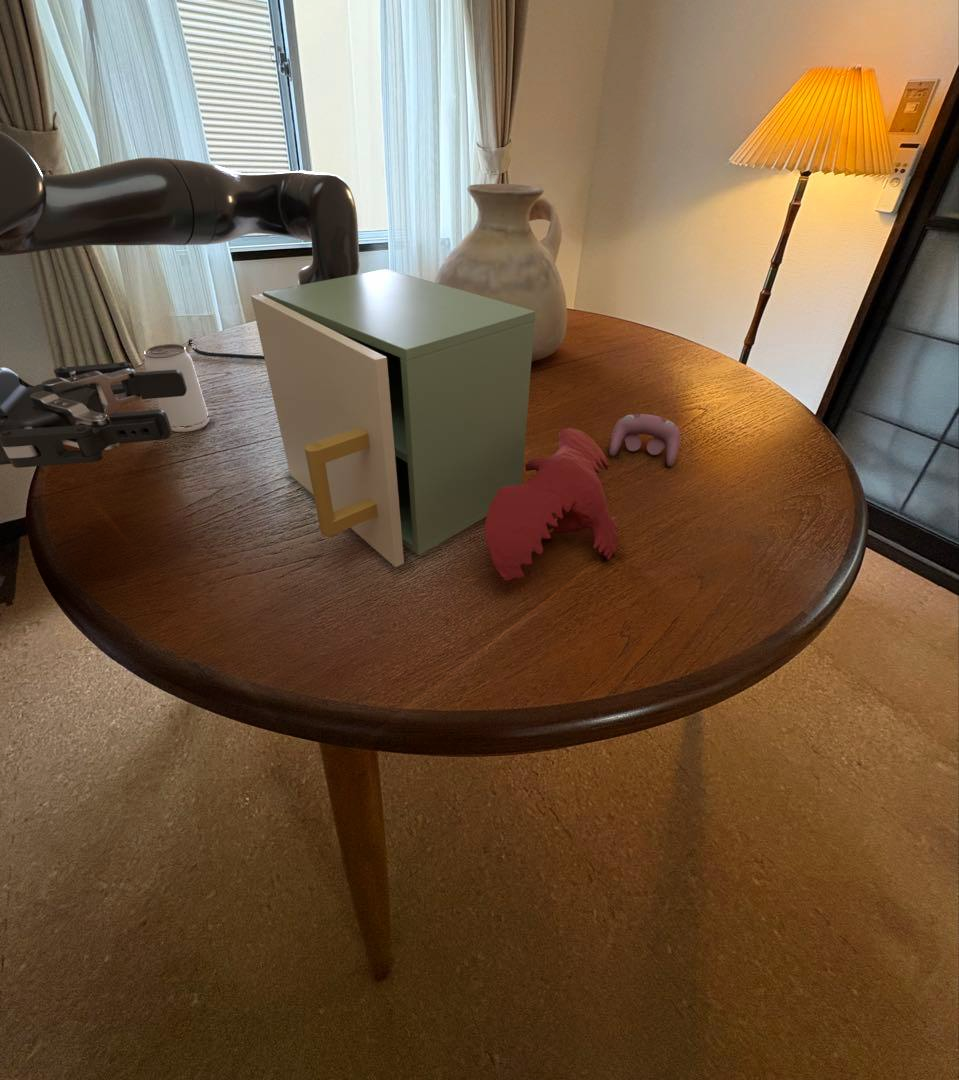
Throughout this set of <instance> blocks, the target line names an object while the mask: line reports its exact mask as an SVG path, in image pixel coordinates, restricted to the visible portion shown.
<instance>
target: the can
mask: <svg viewBox="0 0 959 1080" xmlns="http://www.w3.org/2000/svg"><path fill="white" fill-rule="evenodd" d="M143 356H144V363H143V364H144V368H145V372H149V371H163V370H179V371H180V372H181V373H182V374H183V377H184V380H185V384H186V387H187V391H186V394H185V395H184V396H178V397H166V398H155V400H156V403H157V405H158V408H159V410H163V411H164V412H165V413H166V415H167V417H168V420H169V423H170V425H174V426H186V425H187V426H188V425H193V424H196V423H199V422H201V421H203V420H204V419H206V418H207V416H208V415H209V411H208V409H207V404H206V402H205V399H204V395H203V392H202V389H201V385H200V381H199V378H198V375H197V372H196V368H195V365H194V362H193V359H192V356H191V355H190V354H189V353H188V352H187V350H186V347H185V346H184V345H182V344H178V343H165V344H158V345H154V346H151V347H149V348H146V349H145V350H143ZM209 422H210V416H209V417H208V419H207V420H206V421H205V422H203V423H202V424H199V425H196V426H193V427H188V428H172V427H171V429H172V432H173V433H185V434H186V433H192V432H196V431H199V430H202V429H203V428H205V427H206V426H207V425H208V424H209Z"/></svg>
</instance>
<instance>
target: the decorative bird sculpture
mask: <svg viewBox="0 0 959 1080" xmlns="http://www.w3.org/2000/svg"><path fill="white" fill-rule="evenodd" d="M558 444H559V445H558V450H557V452H556V453H554V454H552V455H551V456H546V457H545V456H543V457H535V458H532V459H530V460H528V461H527V462H526V464H525V471H526V472H530V471H536V473H535V474H534V475H533V476H532V477H531V478H530V479H529V480H527V481H526V482H523V483H522V484H521V485H517V486H504V487H502V488H500V489H499V491H498V493H497V495H496V496H495V498H494V499H493V501H492V503H491V505H490V507H489V510H488V515H487V516H486V519H485V523H484V528H483V531H484V539H485V542H486V545H487V549H488V551H489V556H490V560H491V562H492V563H493V565H494V567H495V569H496V571H497V573H498V574H499V575H500V577H501V578H502V579H503V581H510V580H513V579H515V578H516V579H521V578H522V579H523V578H524V577H525V574H524V572H523V570H522V569H521V567H522V565H523V566H529V565H533V559H532V557H533V556H532V555H533V554H532V553H536V554H537V555H542V554H543V552H544V547H543V544H542V539H543V540H549V539H552V536H551V534H550V533H552V532H554V533H556V534H561V533H574V532H581V531H583V530H586V529H589V530H590V532H591V534H592V536H593V546H592V548H593V549H594V550H595V549H597V551H598V554H599V555H600V554H601V553H602V554H603V556H604V557H605V559H606V560H610V559H611V558H612V557H616V555H617V553H618V551H617V548H618V547H619V544H618V540H619V538H620V537H621V536H620V534H619V533H618V529H619V526H620V525H619V524H618V523H616V520H617V517H616V516H615V515H614V516H612V517H611V515H610V511H609V508H608V503H607V499H606V495H605V493H604V489H603V484H602V482H601V480H600V478H598V474H600V469H601V470H606V471H609V468H611V467H612V466H611V464H610V463H609V461H608V459H607V457H606V455H605V454H604V452H603V450H602V449H601V447H600V446H599V444H597V442H596V441H595V440H594V439H593V438H592V437H590V436H589V435H588V434H586V432H584V431H582V430H580V429H576V428H572V427H567V428H563V429H561V430H560V431H559V433H558ZM548 526H549V527H552V528H550V529H548Z"/></svg>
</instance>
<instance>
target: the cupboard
mask: <svg viewBox="0 0 959 1080" xmlns="http://www.w3.org/2000/svg"><path fill="white" fill-rule="evenodd" d="M261 293H262V295H263V296H265V297H267V298H269V299H271V300H273V301H275V302H277V303H279V304H281V305H283V306H285V307H287V308H289V309H291V310H293V311H295V312H297V313H299V314H301V315H303V316H305V317H307V318H309V319H311V320H313V321H315V322H317V323H319V324H321V325H323V326H325V327H327V328H329V329H331V330H333V331H335V332H337V333H339V334H341V335H343V336H345V337H347V338H349V339H351V340H353V341H355V342H357V343H359V344H361V345H363V346H365V347H367V348H369V349H371V350H373V351H375V352H377V353H379V354H381V355H383V356H385V357H387V366H388V378H389V390H390V402H391V414H392V426H393V437H394V449H395V461H396V473H397V485H398V497H399V509H400V521H401V533H402V544H403V546H405V547H406V548H408V549H409V550H410V551H412V552H413V553H415V554H416V555H418V556H421V555H423V554H424V553H426V552H427V551H429V550H430V549H433V548H434V547H436V546H438V545H439V544H441V543H443V542H445V541H447V540H448V539H450V538H451V537H454V536H455V535H457V534H458V533H461V532H462V531H463V530H466V529H467V528H470V526H472V525H474V524H476V523H478V522H479V521H481V520H483V519H485V518H487V515H488V510H489V507H490V505H491V503H492V501H493V499H494V498H495V496H496V495H497V493H498V491H499V489H500V488H502V487H504V486H517V485H521V484H523V477H524V475H523V474H524V464H525V449H526V439H527V438H526V436H527V425H528V424H527V423H528V409H529V401H530V399H529V397H530V385H531V373H532V362H531V360H532V347H533V334H534V321H535V311H533V310H529V309H526V308H522V307H518V306H515V305H511V304H508V303H504V302H501V301H497V300H494V299H490V298H487V297H483V296H480V295H476V294H473V293H469V292H466V291H462V290H459V289H455V288H452V287H448V286H445V285H441V284H438V283H434V281H430V280H427V279H423V278H420V277H417V276H413V275H409V274H406V273H403V272H399V271H397V270H396V271H395V270H392V269H388V268H384V269H379V270H373V271H369V272H368V271H367V272H362V273H358V274H357V275H351V276H346V277H341V278H335V279H330V280H325V281H319V282H314V283H309V284H304V285H299V284H298V285H294V286H289V287H282V288H277V289H271V290H267V291H266V290H265V291H262V292H261Z"/></svg>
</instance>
